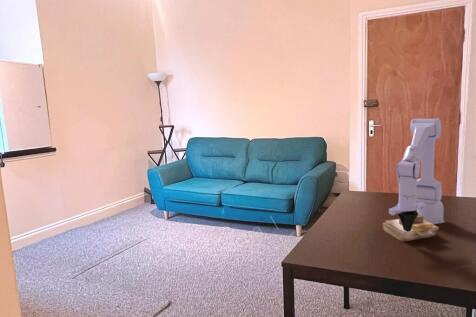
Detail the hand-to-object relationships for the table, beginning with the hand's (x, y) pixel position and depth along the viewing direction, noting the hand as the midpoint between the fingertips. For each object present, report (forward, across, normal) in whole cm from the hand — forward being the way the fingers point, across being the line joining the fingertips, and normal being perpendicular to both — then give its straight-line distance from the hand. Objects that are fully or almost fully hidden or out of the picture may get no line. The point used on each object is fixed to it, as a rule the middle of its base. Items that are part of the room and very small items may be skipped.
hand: (407, 230), depth 124 cm
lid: (+2, -7, -4) cm, 9 cm away
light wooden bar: (+1, -6, +1) cm, 6 cm away
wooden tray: (+5, -7, -7) cm, 11 cm away
